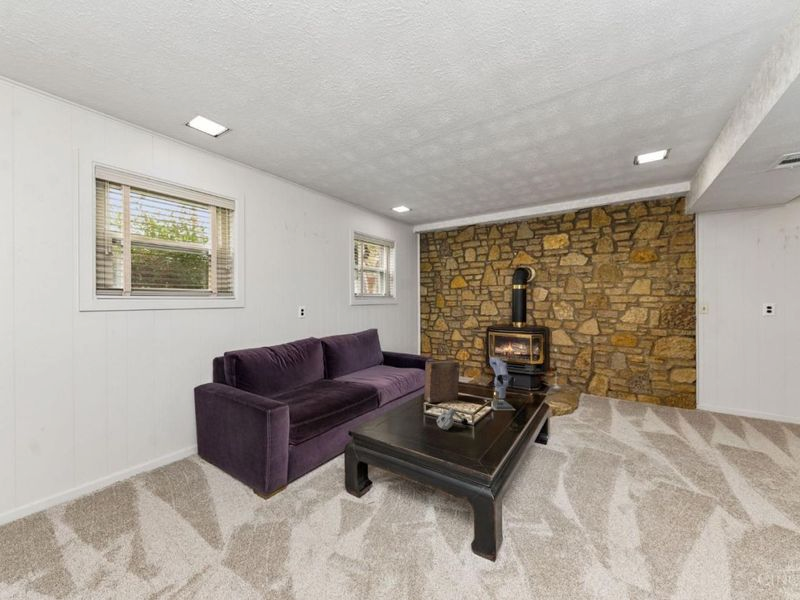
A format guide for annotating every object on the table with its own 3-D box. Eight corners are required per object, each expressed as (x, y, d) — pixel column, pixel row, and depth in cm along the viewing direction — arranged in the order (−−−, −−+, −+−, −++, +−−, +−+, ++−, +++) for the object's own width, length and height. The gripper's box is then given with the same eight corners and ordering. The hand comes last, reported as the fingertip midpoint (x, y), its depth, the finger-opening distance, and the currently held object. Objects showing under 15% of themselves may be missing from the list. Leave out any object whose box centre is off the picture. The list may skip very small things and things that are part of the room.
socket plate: (483, 400, 263) (483, 397, 263) (503, 400, 265) (503, 397, 265) (494, 411, 241) (494, 407, 241) (515, 411, 243) (515, 407, 243)
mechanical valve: (433, 421, 211) (447, 402, 214) (449, 435, 218) (463, 417, 221) (442, 429, 201) (457, 409, 205) (459, 443, 209) (473, 424, 212)
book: (451, 396, 271) (453, 359, 270) (458, 399, 263) (459, 361, 262) (424, 399, 261) (425, 361, 260) (429, 403, 252) (431, 363, 251)
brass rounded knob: (492, 401, 261) (492, 390, 261) (497, 401, 261) (497, 390, 261) (494, 402, 257) (494, 392, 257) (499, 402, 257) (499, 392, 257)
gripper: (496, 367, 262) (499, 378, 250) (514, 371, 262) (518, 382, 250) (493, 374, 265) (496, 385, 253) (511, 378, 265) (515, 390, 253)
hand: (507, 384), depth 251 cm, fingers open, 7 cm apart
